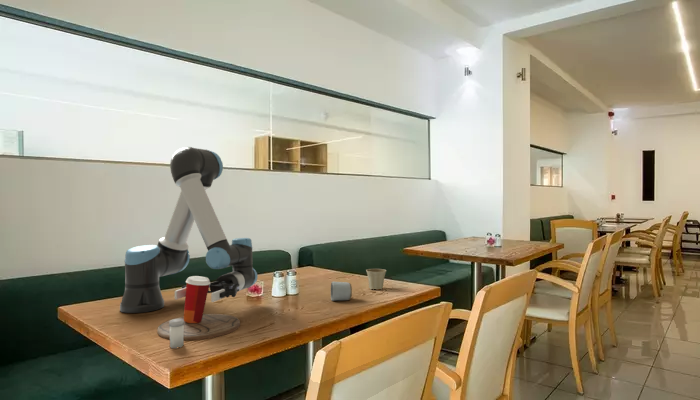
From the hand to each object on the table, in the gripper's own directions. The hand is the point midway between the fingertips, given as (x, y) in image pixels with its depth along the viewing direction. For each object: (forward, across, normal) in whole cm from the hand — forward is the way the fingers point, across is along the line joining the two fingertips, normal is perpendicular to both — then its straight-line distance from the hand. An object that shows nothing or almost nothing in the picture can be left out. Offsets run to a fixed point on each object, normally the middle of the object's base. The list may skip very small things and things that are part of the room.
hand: (193, 296), depth 134 cm
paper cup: (-5, +4, -9) cm, 11 cm away
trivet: (-3, 0, -12) cm, 12 cm away
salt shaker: (+14, -4, -11) cm, 18 cm away
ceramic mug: (-52, -33, -11) cm, 63 cm away
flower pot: (-76, -43, -11) cm, 88 cm away
